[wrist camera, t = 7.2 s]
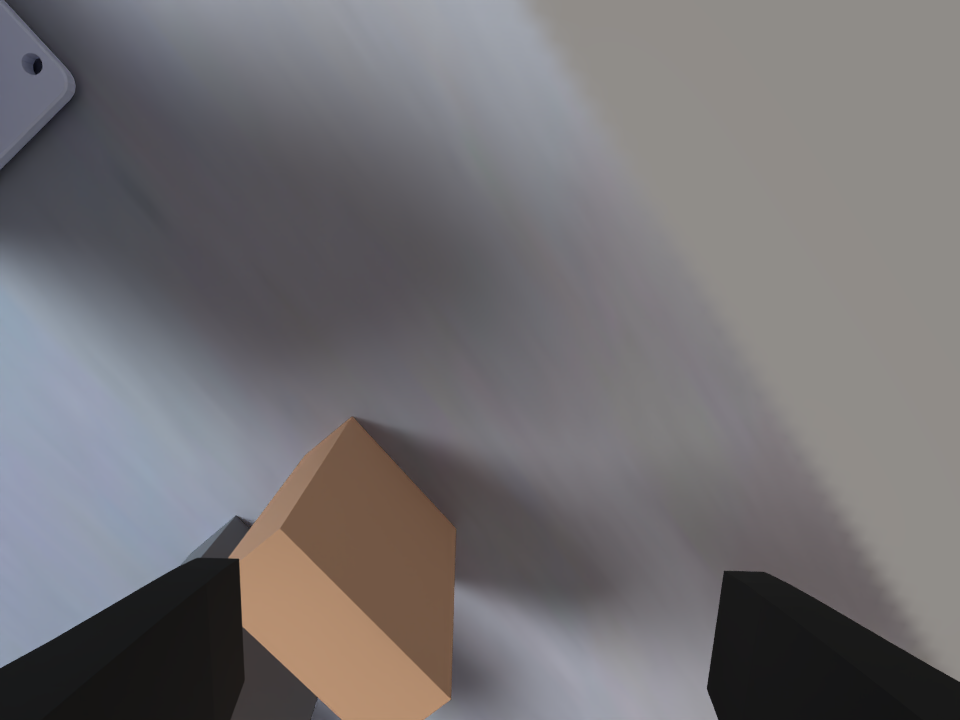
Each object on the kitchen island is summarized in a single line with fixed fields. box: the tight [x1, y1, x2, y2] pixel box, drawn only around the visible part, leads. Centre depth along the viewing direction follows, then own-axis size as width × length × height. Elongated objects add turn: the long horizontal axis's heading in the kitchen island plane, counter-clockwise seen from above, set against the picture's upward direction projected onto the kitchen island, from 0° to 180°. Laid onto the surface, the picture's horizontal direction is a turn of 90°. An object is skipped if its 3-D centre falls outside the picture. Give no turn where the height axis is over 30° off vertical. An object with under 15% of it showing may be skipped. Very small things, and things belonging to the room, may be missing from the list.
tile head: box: [228, 416, 456, 720], centre depth 15 cm, size 5×2×7 cm, turn 40°
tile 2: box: [181, 516, 318, 720], centre depth 15 cm, size 5×2×7 cm, turn 40°
